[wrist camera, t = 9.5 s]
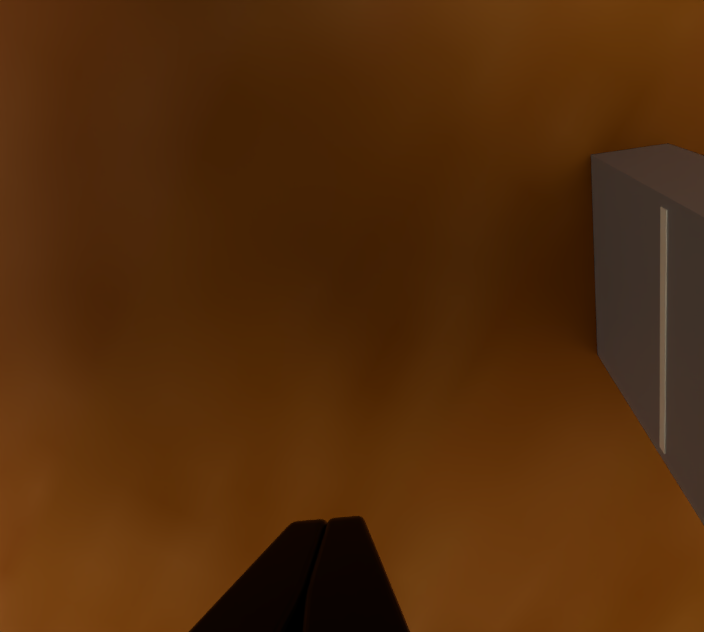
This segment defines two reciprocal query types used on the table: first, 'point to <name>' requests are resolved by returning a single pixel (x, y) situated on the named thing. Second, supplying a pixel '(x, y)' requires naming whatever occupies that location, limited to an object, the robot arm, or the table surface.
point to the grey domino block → (654, 297)
